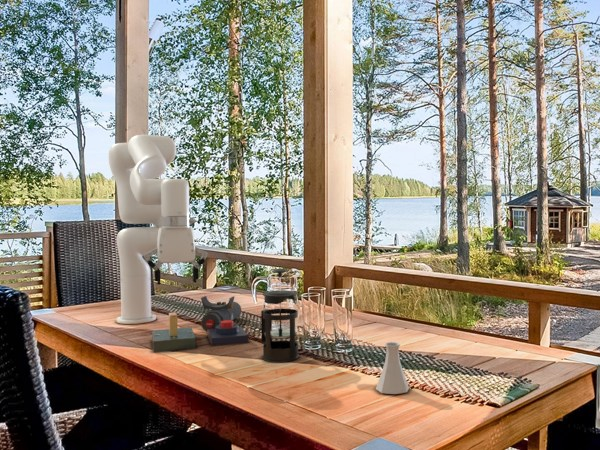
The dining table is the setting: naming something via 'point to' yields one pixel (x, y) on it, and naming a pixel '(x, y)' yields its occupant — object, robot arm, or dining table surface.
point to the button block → (227, 335)
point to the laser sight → (219, 312)
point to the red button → (226, 323)
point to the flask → (392, 372)
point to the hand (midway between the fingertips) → (176, 282)
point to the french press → (280, 349)
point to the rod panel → (173, 340)
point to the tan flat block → (173, 324)
